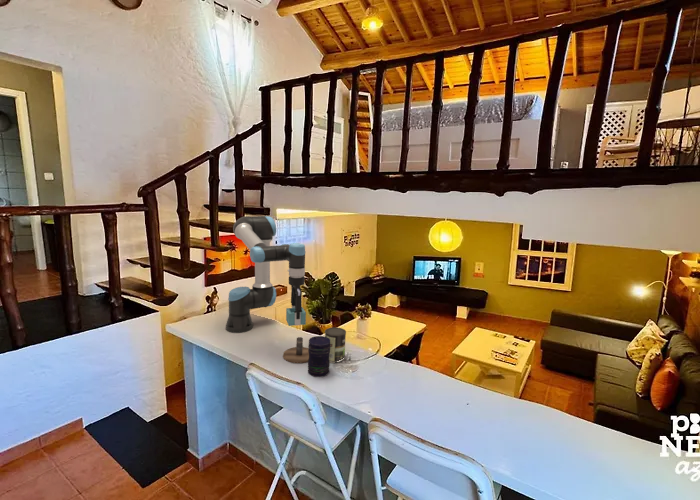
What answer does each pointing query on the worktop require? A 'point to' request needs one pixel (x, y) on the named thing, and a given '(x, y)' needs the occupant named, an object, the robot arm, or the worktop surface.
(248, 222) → the robot arm
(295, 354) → the post stand
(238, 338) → the worktop surface
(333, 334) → the coffee can
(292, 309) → the collar
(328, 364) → the storage jar
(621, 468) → the worktop surface
